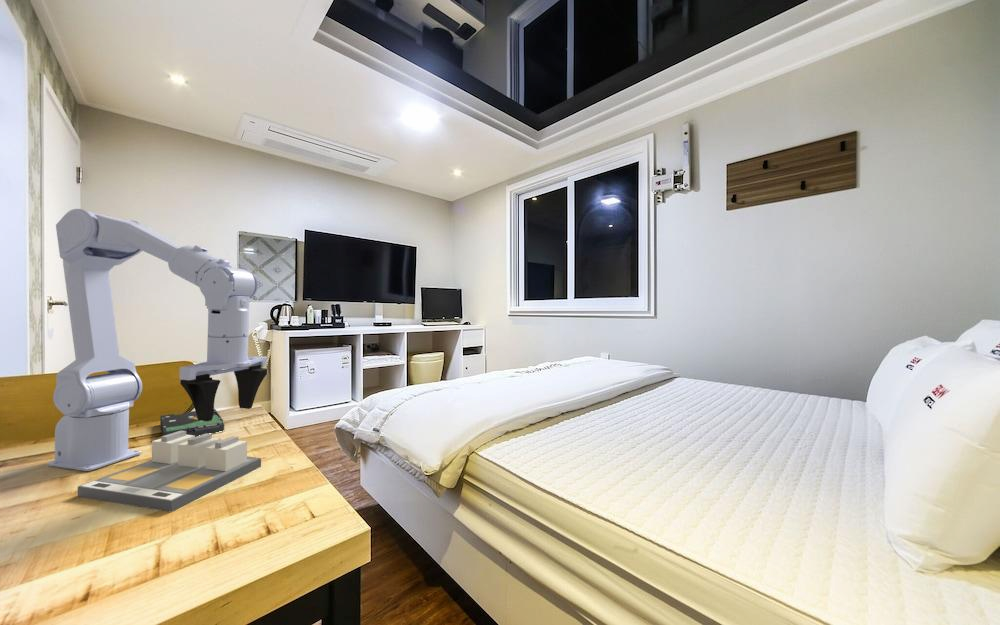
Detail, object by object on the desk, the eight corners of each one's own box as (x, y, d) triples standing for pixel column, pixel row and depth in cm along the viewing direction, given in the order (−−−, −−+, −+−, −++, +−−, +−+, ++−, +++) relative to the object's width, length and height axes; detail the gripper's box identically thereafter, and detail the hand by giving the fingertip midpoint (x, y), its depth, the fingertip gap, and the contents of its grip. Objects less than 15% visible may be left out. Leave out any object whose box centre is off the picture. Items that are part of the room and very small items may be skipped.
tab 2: (177, 465, 62) (178, 439, 61) (201, 455, 65) (201, 431, 65) (197, 467, 61) (198, 441, 61) (220, 458, 65) (220, 433, 65)
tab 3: (205, 468, 60) (205, 442, 60) (227, 459, 64) (227, 434, 64) (225, 471, 60) (226, 445, 60) (246, 461, 64) (247, 436, 64)
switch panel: (77, 496, 54) (77, 485, 54) (183, 456, 69) (183, 448, 69) (171, 511, 51) (171, 500, 51) (261, 466, 65) (261, 457, 65)
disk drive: (158, 427, 85) (163, 444, 75) (159, 415, 85) (163, 431, 75) (214, 419, 93) (225, 433, 83) (214, 408, 93) (225, 421, 83)
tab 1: (151, 461, 63) (152, 436, 62) (176, 452, 66) (176, 429, 66) (170, 464, 62) (171, 438, 62) (194, 454, 66) (195, 431, 66)
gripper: (206, 340, 56) (204, 429, 56) (281, 334, 70) (279, 405, 70) (169, 338, 57) (167, 424, 57) (249, 332, 71) (247, 402, 72)
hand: (226, 413), depth 64 cm, fingers open, 7 cm apart
